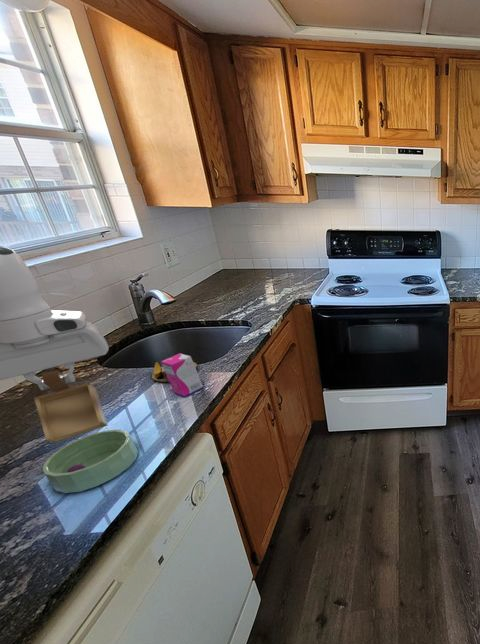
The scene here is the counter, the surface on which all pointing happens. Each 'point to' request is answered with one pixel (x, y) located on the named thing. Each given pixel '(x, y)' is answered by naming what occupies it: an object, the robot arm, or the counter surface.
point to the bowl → (90, 461)
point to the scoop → (68, 408)
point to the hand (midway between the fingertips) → (59, 384)
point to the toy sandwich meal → (161, 373)
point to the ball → (75, 468)
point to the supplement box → (182, 375)
